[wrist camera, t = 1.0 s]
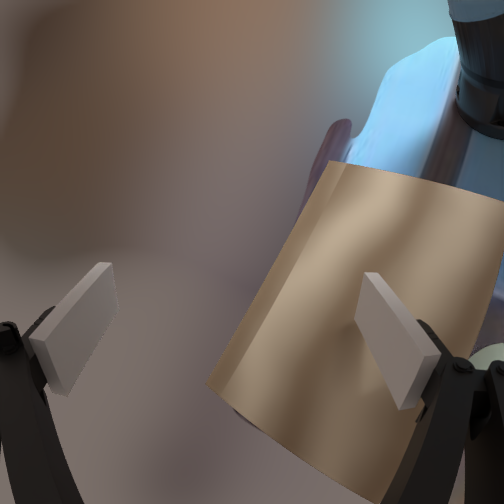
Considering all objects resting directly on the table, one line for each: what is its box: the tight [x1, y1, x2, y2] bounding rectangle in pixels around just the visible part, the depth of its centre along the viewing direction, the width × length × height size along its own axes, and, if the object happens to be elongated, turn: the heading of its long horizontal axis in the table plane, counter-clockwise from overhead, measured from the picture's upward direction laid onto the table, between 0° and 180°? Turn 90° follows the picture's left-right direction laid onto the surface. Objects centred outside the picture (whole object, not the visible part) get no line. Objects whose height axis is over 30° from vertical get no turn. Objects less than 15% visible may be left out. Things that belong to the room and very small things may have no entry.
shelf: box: [206, 161, 504, 504], centre depth 24 cm, size 14×18×20 cm
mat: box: [468, 343, 504, 370], centre depth 22 cm, size 12×12×1 cm
